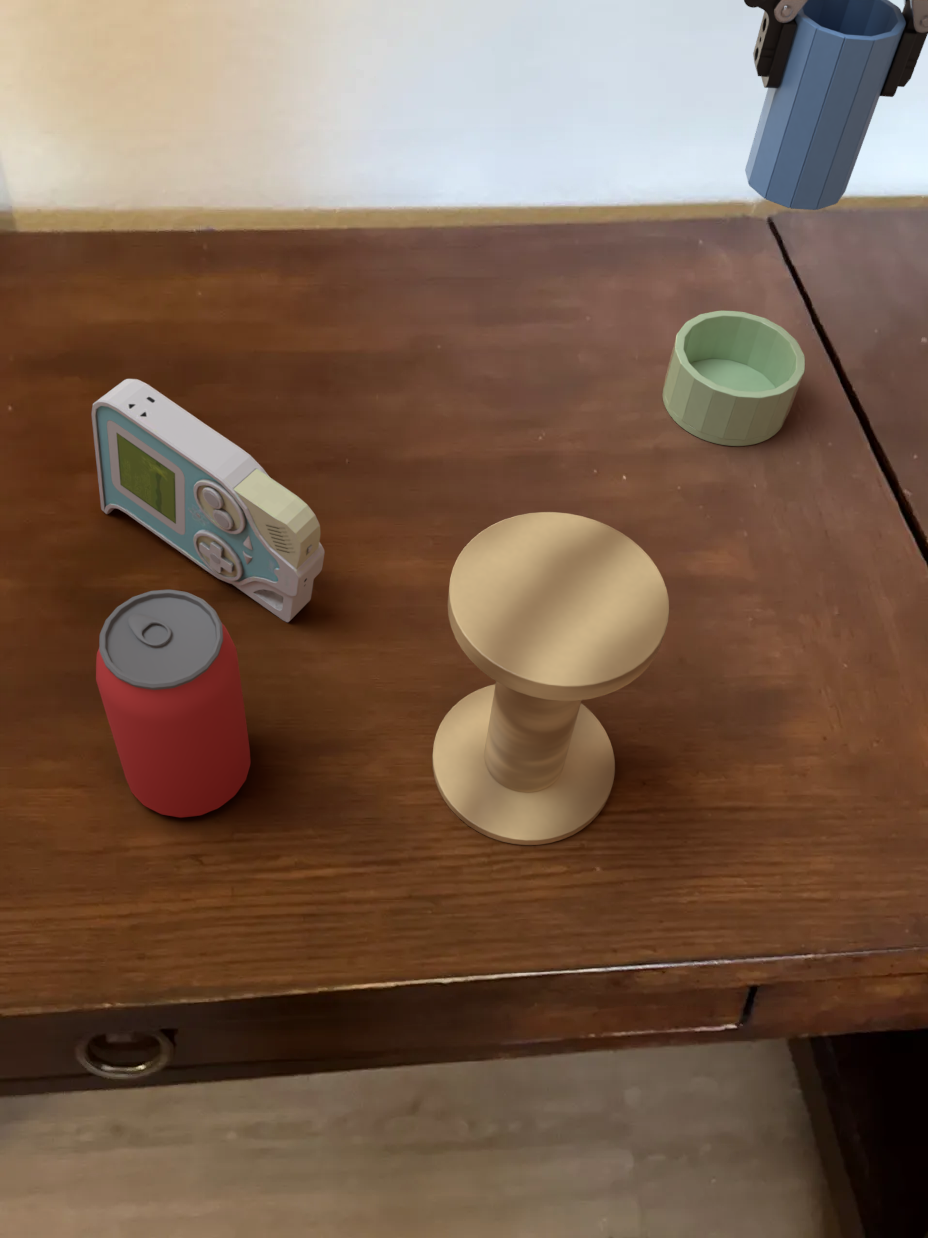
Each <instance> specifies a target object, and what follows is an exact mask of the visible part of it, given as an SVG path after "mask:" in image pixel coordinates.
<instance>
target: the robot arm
mask: <svg viewBox="0 0 928 1238" xmlns="http://www.w3.org/2000/svg"><path fill="white" fill-rule="evenodd" d="M743 1H744V2H743V3H744V4H745V5H746V6H747V7H749V8H752V9H754V8H759V9H761V10H762V11H764V12H763V16H762V19H761V22H760V26H759V29H758V34H757V36H756V37H757V38H756V41H755V45H754V48H753V52H752V55H753V56H752V57H753V63H754V67H755V70H756V75H757V77H760V79H761V81H762V82H761V83H762V86H763V88H764V89H768V88H778V87H779V85H780V82H781V78H782V75H783V71H784V68H785V64H786V61H787V58H788V54H789V51H790V47H791V44H792V40H793V37H794V34H795V30H796V27H797V23H796V21H795V17H796V15H797V14H798V13H799V11H800V10H801V9H802V8H803V6H804V5H805V4H806V2H807V1H808V0H743ZM903 5H904V6H903V8H902V10H901V12H902V14H903V16H904V19H905V21H906V25H905V27H904V30H903V33H902V36H901V39H900V41H899V44H898V47H897V50H896V52H895V55H894V58H893V61H892V63H891V66H890V69H889V72H888V75H887V77H886V80H885V83H884V86H883V88H882V91H881V94H880V97H887V98H893V97H895V95H896V93H897V90H898V88H899V87H900V88H904V87H905V86H906V85H907V84H908V83H909V81H910V80H911V79H912V76H913V74H914V71H915V68H916V66H917V63H918V60H919V58H920V56H921V52H922V50H923V47H924V45H925V43H926V39H927V37H928V0H903Z"/></svg>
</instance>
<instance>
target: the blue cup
mask: <svg viewBox="0 0 928 1238" xmlns="http://www.w3.org/2000/svg"><path fill="white" fill-rule="evenodd" d="M795 21H796V23H797V27H796V30H795V34H794V37H793V40H792V44H791V47H790V51H789V54H788V58H787V61H786V64H785V68H784V71H783V75H782V78H781V82H780V85H779V87H778V88H767V91H766V93H765V98H764V102H763V104H762V108H761V112H760V116H759V119H758V122H757V126H756V129H755V133H754V137H753V140H752V144H751V147H750V151H749V154H748V158H747V161H746V165H745V169H744V171H745V175H746V180H747V184H748V185H749V187H750V188H751V189H753V191H755V192H756V193H757V194H758V195H760V196H761V197H762V198H763V199H765V200H766V201H769V202H771V203H774V204H777V205H780V206H782V207H784V208H787V209H792V210H793V209H794V210H808V211H818V210H821V209H825V208H828V207H831V206H834V205H836V204H838V203H839V201H840V200H841V198H842V197H843V195H844V194H845V193H846V191H847V188H848V185H849V183H850V180H851V177H852V174H853V172H854V169H855V166H856V164H857V160H858V158H859V155H860V151H861V149H862V146H863V144H864V141H865V138H866V135H867V133H868V130H869V127H870V124H871V121H872V119H873V116H874V113H875V111H876V107H877V105H878V102H879V99H880V97H881V96H880V94H881V91H882V88H883V86H884V83H885V80H886V77H887V75H888V72H889V69H890V66H891V63H892V61H893V58H894V55H895V52H896V50H897V47H898V44H899V41H900V39H901V36H902V33H903V30H904V27H905V25H906V21H905V19H904V16H903V14H902V9H901V8H900V7H899V6H898V5H897V4H895V3H893V2H892V1H890V0H808V1H807V2H806V4H805V5H804V6H803V8H802V9H801V10H800V11H799V13H798V14H797V15H796V17H795Z"/></svg>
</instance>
